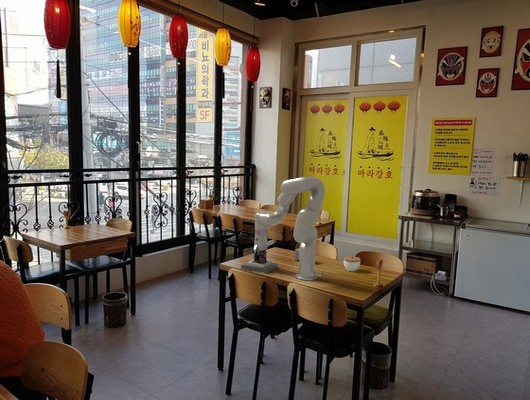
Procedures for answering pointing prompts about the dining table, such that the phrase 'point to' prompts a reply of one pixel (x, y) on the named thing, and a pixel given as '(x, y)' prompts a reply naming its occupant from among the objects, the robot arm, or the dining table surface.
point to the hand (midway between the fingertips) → (260, 259)
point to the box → (261, 257)
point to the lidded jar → (351, 263)
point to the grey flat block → (259, 266)
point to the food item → (297, 254)
